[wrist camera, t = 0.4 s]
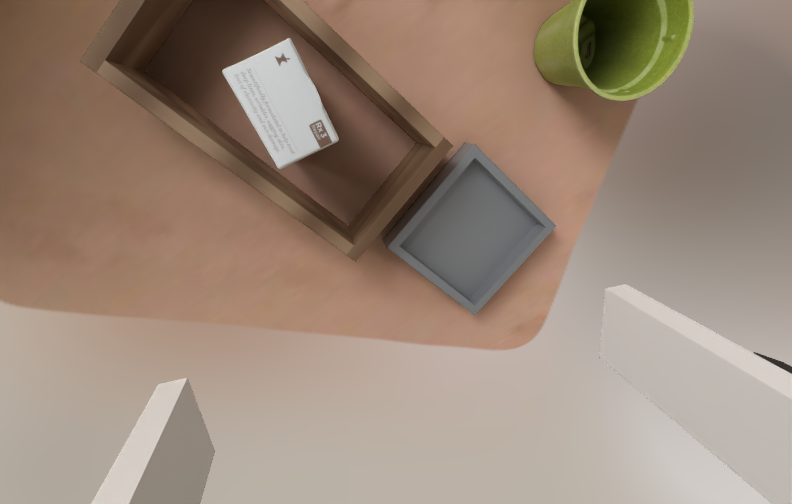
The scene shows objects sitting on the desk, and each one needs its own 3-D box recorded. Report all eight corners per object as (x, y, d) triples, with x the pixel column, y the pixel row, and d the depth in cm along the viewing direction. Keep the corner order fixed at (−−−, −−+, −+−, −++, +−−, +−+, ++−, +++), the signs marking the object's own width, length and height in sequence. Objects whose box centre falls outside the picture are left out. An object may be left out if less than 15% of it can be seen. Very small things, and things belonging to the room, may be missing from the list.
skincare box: (247, 85, 32) (210, 67, 20) (297, 61, 32) (287, 30, 20) (286, 155, 34) (272, 174, 23) (332, 132, 34) (341, 140, 23)
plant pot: (598, 106, 38) (674, 103, 30) (508, 102, 36) (564, 97, 28) (620, -5, 35) (710, -42, 27) (523, -16, 33) (589, -59, 25)
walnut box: (124, 71, 30) (79, 61, 24) (216, -64, 28) (191, -108, 23) (349, 240, 37) (355, 261, 32) (431, 141, 36) (453, 145, 30)
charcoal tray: (382, 239, 38) (387, 247, 36) (464, 142, 36) (474, 144, 34) (466, 304, 42) (474, 315, 40) (542, 219, 41) (556, 225, 38)
